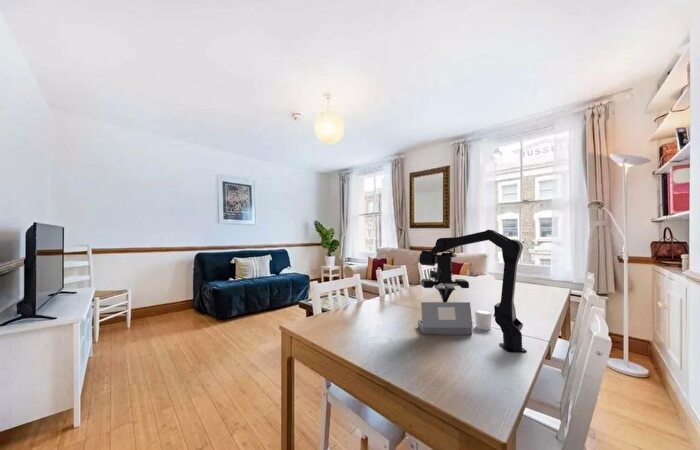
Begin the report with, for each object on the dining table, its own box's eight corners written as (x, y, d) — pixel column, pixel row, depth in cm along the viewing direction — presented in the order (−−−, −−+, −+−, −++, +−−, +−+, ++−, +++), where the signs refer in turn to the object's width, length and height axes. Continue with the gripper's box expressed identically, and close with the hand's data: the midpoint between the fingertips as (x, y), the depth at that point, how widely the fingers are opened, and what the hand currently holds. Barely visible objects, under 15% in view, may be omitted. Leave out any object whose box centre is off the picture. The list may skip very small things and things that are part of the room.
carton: (471, 334, 110) (471, 327, 110) (423, 334, 111) (423, 327, 111) (463, 327, 119) (463, 320, 119) (418, 327, 120) (418, 320, 120)
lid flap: (472, 327, 110) (472, 327, 110) (422, 327, 111) (423, 327, 110) (469, 302, 113) (470, 302, 112) (421, 302, 113) (421, 302, 113)
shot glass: (495, 330, 115) (494, 314, 116) (479, 330, 116) (478, 313, 116) (487, 324, 122) (487, 309, 123) (472, 324, 122) (472, 309, 123)
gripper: (459, 264, 122) (459, 298, 122) (418, 264, 122) (418, 298, 122) (469, 268, 111) (469, 306, 110) (424, 268, 111) (424, 305, 111)
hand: (444, 303), depth 114 cm, fingers closed, pressing on lid flap
